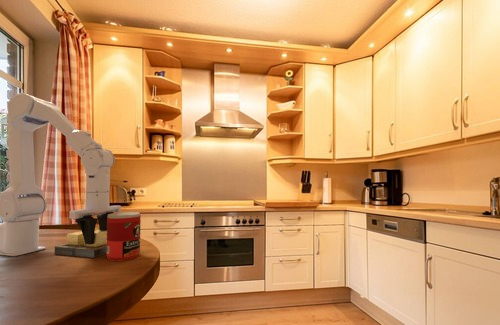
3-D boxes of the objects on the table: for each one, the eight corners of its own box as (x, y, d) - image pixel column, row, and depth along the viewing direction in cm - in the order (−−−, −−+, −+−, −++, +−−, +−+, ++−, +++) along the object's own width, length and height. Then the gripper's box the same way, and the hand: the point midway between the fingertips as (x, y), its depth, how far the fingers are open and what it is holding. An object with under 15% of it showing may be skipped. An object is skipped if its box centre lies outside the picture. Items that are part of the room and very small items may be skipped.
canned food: (127, 262, 62) (128, 216, 63) (98, 260, 63) (99, 215, 64) (146, 253, 69) (146, 212, 70) (120, 252, 71) (121, 211, 72)
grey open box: (54, 254, 70) (55, 235, 70) (81, 246, 77) (82, 229, 78) (93, 258, 66) (94, 238, 66) (118, 249, 73) (119, 232, 73)
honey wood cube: (84, 251, 69) (84, 232, 70) (97, 247, 73) (97, 229, 73) (95, 252, 68) (96, 233, 68) (108, 248, 72) (108, 230, 72)
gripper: (84, 193, 63) (83, 249, 63) (129, 190, 77) (128, 237, 76) (63, 193, 66) (62, 247, 65) (110, 190, 79) (109, 235, 79)
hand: (96, 242), depth 71 cm, fingers closed on honey wood cube, 4 cm apart
